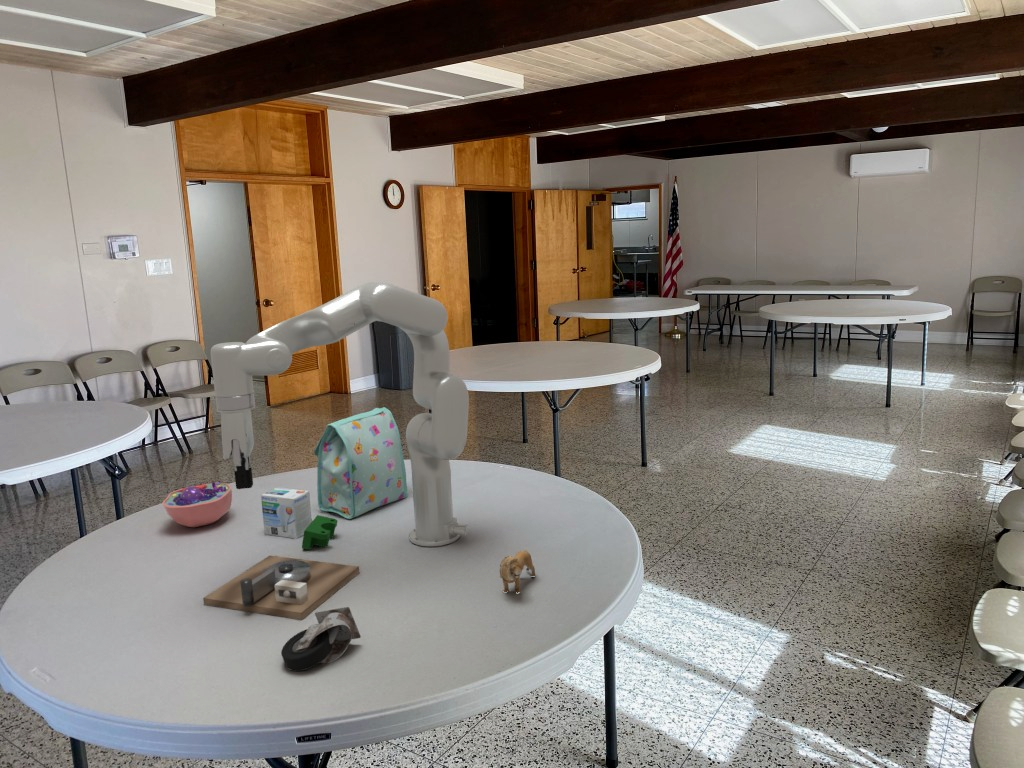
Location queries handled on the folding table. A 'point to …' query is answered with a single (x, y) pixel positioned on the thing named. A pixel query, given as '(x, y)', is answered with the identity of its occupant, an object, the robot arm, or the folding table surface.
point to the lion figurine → (515, 569)
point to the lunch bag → (360, 464)
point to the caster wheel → (321, 640)
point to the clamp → (319, 532)
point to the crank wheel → (273, 579)
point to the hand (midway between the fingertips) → (244, 487)
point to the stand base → (267, 603)
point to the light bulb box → (286, 512)
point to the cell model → (199, 504)
